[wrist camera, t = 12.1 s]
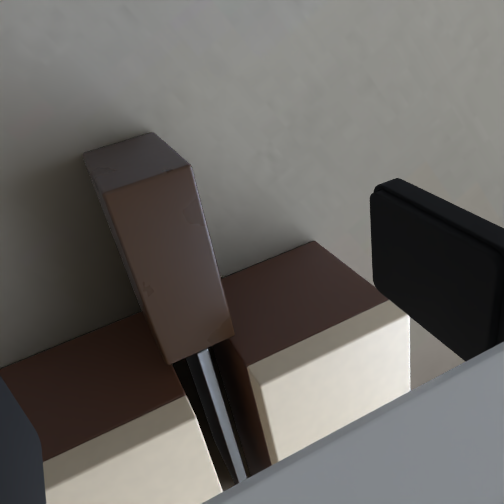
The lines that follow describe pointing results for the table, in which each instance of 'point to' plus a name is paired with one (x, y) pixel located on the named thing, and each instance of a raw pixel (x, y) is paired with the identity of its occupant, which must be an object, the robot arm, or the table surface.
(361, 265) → the table surface
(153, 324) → the knife
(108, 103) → the table surface
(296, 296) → the cake
